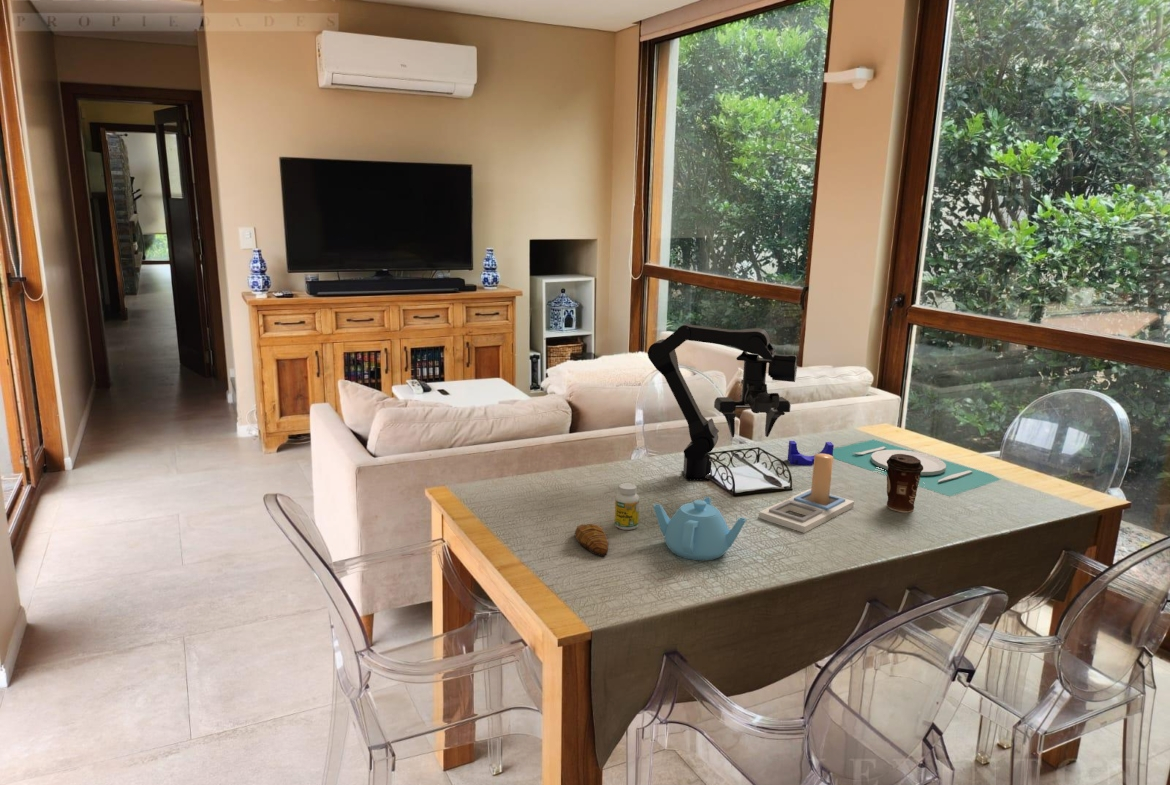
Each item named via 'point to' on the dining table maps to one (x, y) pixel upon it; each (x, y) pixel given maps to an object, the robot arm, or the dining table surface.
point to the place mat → (935, 471)
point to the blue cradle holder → (800, 459)
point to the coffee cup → (902, 482)
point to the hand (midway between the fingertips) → (749, 436)
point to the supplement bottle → (627, 507)
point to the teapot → (697, 530)
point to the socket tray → (805, 511)
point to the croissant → (592, 538)
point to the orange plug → (821, 478)
